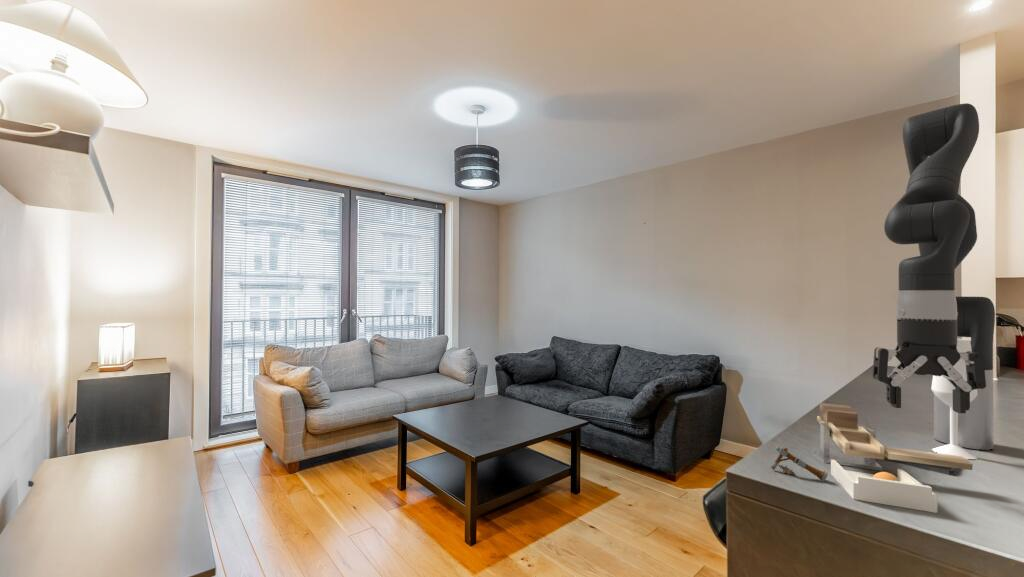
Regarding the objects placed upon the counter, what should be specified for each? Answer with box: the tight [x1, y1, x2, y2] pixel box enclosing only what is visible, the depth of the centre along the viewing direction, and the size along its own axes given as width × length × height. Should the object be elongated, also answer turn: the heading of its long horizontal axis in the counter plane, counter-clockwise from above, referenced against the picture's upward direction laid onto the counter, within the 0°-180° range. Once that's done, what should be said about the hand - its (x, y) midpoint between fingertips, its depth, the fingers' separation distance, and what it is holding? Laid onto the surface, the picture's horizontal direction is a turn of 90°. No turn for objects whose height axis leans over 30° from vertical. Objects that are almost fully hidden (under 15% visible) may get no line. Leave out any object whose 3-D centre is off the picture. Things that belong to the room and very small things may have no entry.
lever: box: [816, 402, 974, 471], centre depth 80 cm, size 17×17×4 cm
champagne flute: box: [930, 338, 978, 460], centre depth 88 cm, size 7×7×24 cm
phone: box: [882, 445, 959, 476], centre depth 84 cm, size 8×1×15 cm
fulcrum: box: [814, 423, 884, 472], centre depth 82 cm, size 6×9×7 cm, turn 68°
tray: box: [830, 460, 938, 514], centre depth 69 cm, size 11×10×4 cm
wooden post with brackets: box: [770, 446, 829, 483], centre depth 74 cm, size 2×8×4 cm, turn 56°
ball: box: [873, 471, 900, 482], centre depth 66 cm, size 4×4×4 cm
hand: (926, 409), depth 73 cm, fingers open, 8 cm apart
